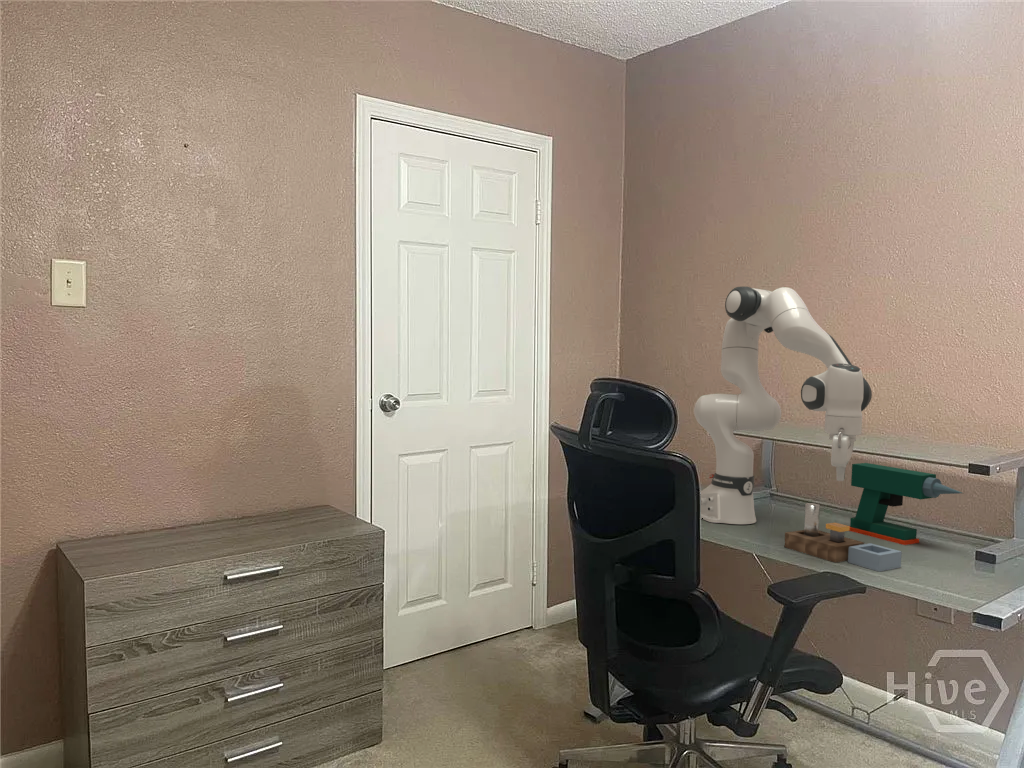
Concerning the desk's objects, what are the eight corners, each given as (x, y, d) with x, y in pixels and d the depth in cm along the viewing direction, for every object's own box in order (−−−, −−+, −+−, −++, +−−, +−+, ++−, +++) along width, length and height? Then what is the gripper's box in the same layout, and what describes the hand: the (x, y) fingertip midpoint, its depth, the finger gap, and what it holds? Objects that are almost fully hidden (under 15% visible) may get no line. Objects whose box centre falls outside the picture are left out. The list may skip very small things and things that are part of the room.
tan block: (824, 543, 201) (825, 523, 201) (834, 542, 203) (835, 522, 203) (839, 547, 197) (840, 527, 197) (848, 546, 199) (849, 526, 199)
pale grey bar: (800, 547, 208) (802, 503, 207) (809, 546, 210) (811, 502, 209) (811, 551, 205) (813, 506, 204) (820, 549, 206) (822, 505, 206)
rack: (847, 562, 195) (848, 546, 194) (869, 558, 199) (870, 543, 199) (878, 571, 187) (879, 555, 187) (900, 567, 191) (901, 551, 191)
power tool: (968, 554, 206) (972, 480, 205) (953, 557, 202) (957, 481, 201) (862, 528, 233) (865, 462, 232) (847, 530, 230) (850, 463, 229)
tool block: (784, 547, 208) (785, 532, 208) (811, 542, 213) (812, 528, 213) (835, 562, 194) (836, 546, 194) (863, 557, 199) (864, 542, 199)
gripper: (854, 431, 188) (851, 487, 188) (858, 424, 206) (855, 476, 207) (826, 429, 191) (823, 484, 191) (832, 423, 209) (830, 474, 209)
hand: (840, 480), depth 199 cm, fingers closed
